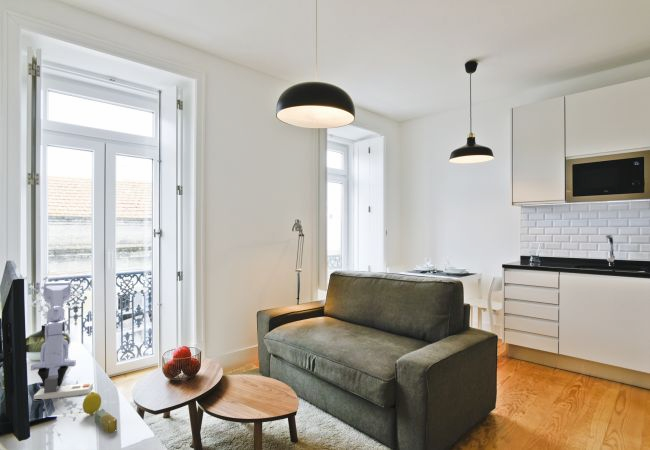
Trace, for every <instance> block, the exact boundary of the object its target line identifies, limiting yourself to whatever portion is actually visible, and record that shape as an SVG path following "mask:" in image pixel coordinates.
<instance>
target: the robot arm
mask: <svg viewBox="0 0 650 450" xmlns="http://www.w3.org/2000/svg"><path fill="white" fill-rule="evenodd" d="M71 288H72V282H71V281H70V280H64V281H61V280H60V281H45V282H44V283H43V300H44V302H48V303H49V305H50V308H49V309H48V310H47V315H46V317H47V318H46V324H45V326H44V337H45V340H44V342H43V343H42V345H41V346H40V347H41V349H40V357H39V359H40V360H39V361H40V363H39V362H38V363H33V364H31V365H30V371H35V370H36V371H37V370H38V371H37V375H38V376H39V378H40V380H41V382H42V384H43V386H44V384H45V379H46V378H48V377H49V376H52V375H58V386H63V385H62V384H63V381H64V380H65V379H64V378H68V377H69V375H66V374H67V370H68V368H69V367H71V368H72V367H75V366H76V364H77V362H76V361H77V360H76V359H74V360H67V359H68V358H69V342H68V340H66V339H65V338H64V335H65V334H66V319H65V311H66V310H65V308H64V307H63V305H64V303H65V301H68V300H70V297H71V292H72V290H71Z"/></svg>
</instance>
